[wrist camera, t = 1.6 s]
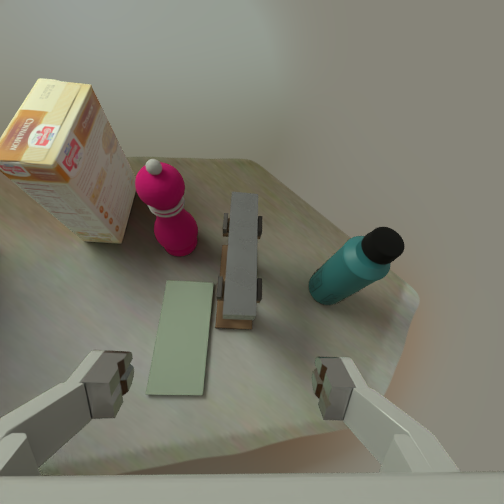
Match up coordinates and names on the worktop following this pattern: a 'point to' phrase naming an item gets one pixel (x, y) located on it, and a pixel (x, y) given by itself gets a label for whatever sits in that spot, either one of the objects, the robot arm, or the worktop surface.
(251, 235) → the rail
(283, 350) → the worktop surface
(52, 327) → the worktop surface
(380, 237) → the beverage bottle
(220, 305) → the stand
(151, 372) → the mat
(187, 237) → the pepper mill
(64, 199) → the coffeecake box
